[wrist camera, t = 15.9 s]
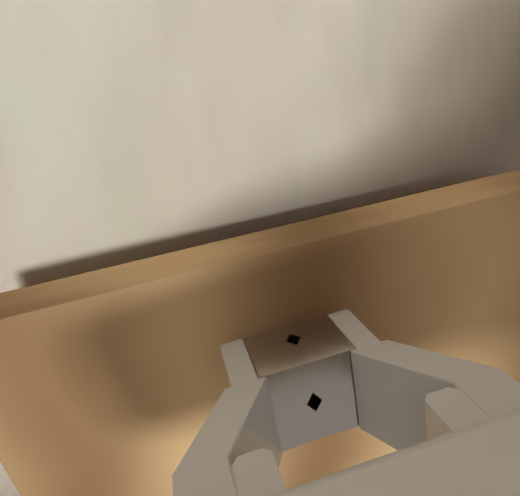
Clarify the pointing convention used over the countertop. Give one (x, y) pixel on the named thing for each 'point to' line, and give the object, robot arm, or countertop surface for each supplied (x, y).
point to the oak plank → (244, 332)
